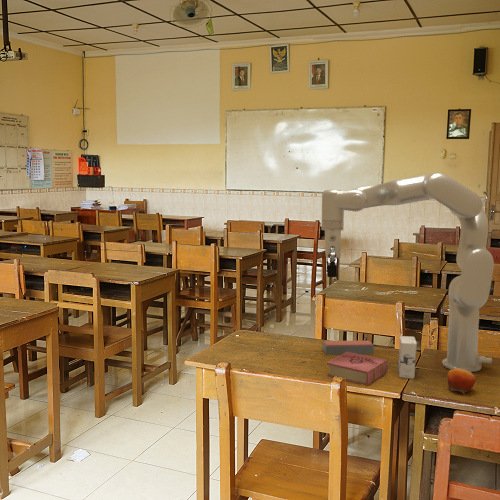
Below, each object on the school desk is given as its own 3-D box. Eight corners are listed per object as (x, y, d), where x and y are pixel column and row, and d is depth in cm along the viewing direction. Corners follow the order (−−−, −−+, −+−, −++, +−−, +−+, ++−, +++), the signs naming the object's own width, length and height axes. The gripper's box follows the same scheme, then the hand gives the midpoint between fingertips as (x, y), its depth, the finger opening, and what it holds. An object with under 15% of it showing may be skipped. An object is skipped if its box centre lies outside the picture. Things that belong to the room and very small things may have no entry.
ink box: (397, 369, 183) (398, 335, 182) (413, 370, 182) (414, 336, 181) (399, 377, 175) (400, 342, 173) (415, 379, 174) (417, 343, 172)
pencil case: (369, 348, 206) (369, 340, 205) (373, 353, 200) (374, 344, 199) (322, 349, 205) (322, 340, 204) (325, 354, 199) (325, 345, 198)
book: (369, 387, 167) (370, 372, 167) (326, 377, 176) (326, 362, 176) (388, 374, 178) (388, 360, 178) (346, 365, 188) (347, 351, 187)
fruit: (442, 389, 161) (446, 363, 163) (447, 395, 167) (451, 370, 170) (470, 395, 156) (474, 368, 159) (474, 400, 162) (478, 375, 165)
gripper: (344, 227, 176) (343, 279, 178) (342, 224, 194) (341, 271, 196) (321, 227, 177) (321, 278, 179) (321, 223, 194) (320, 270, 196)
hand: (331, 274), depth 187 cm, fingers open, 9 cm apart
